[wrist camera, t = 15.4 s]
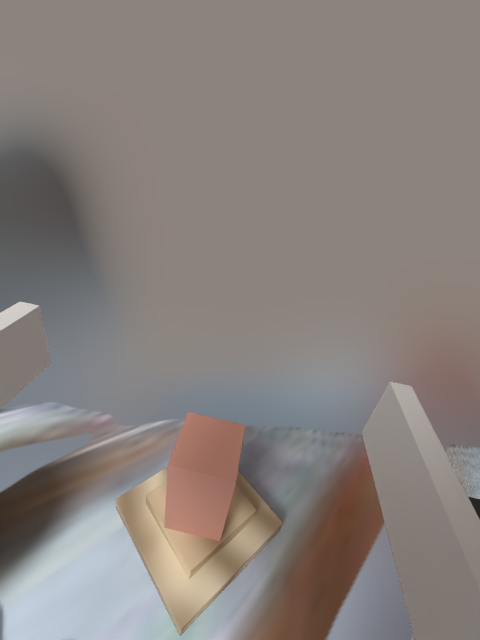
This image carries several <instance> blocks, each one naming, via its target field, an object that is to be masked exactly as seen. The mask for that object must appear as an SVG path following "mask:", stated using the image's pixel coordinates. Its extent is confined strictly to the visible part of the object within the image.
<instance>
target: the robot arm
mask: <svg viewBox="0 0 480 640" xmlns="http://www.w3.org/2000/svg"><path fill="white" fill-rule="evenodd" d="M49 364H51V358H50V354H49V349H48V344H47V339H46V335H45V330H44V325H43V321H42V316H41V311H40V307H39V306H38V305H33V304H29V303H24V302H18V303H17V304H15V305H13V306H12V307H10V308H8V309H7V310H5V311H3V312H1V313H0V409H1V408H2V407H3V406H5V405H6V404H7V403H8V402H9V401H10V400H11V399H12V398H13V397H14V396H16V394H18V393H19V392H20V391H21V390H22V389H23V388H24V387H25V386H27V385H28V384H29V383H30V382H31V381H32V380H33V379H34V378H35V377H36V376H37V375H39V374H40V373H41V372H42V371H43V370H44V369H45V368H46V367H47V366H48V365H49ZM362 436H363V440H364V443H365V447H366V451H367V455H368V459H369V463H370V467H371V471H372V475H373V479H374V483H375V487H376V490H377V494H378V498H379V502H380V506H381V510H382V514H383V518H384V522H385V526H386V529H387V534H388V537H389V541H390V545H391V549H392V553H393V557H394V561H395V565H396V569H397V573H398V576H399V581H400V584H401V588H402V592H403V596H404V600H405V604H406V608H407V612H408V616H409V620H410V624H411V627H412V631H413V635H414V639H415V640H480V499H475V498H471V497H468V496H467V494H466V492H465V490H464V488H463V486H462V484H461V482H460V480H459V478H458V476H457V474H456V472H455V470H454V468H453V467H452V465H451V463H450V461H449V459H448V457H447V455H446V453H445V451H444V449H443V447H442V445H441V443H440V441H439V439H438V437H437V435H436V433H435V431H434V429H433V427H432V426H431V424H430V422H429V420H428V418H427V416H426V414H425V412H424V410H423V408H422V406H421V404H420V402H419V400H418V398H417V396H416V394H415V392H414V390H413V389H412V387H411V386H408V385H403V384H399V383H393V382H389V384H388V386H387V388H386V390H385V391H384V393H383V395H382V397H381V399H380V400H379V402H378V404H377V406H376V407H375V409H374V411H373V413H372V415H371V416H370V418H369V420H368V422H367V423H366V425H365V427H364V429H363V431H362Z"/></svg>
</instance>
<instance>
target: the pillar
mask: <svg viewBox="0 0 480 640" xmlns="http://www.w3.org/2000/svg"><path fill="white" fill-rule="evenodd" d="M244 430H245V425H242V424H238V423H234V422H229V421H225V420H220V419H216V418H212V417H207V416H203V415H199V414H194V413H190V412H188V414H187V417H186V419H185V422H184V425H183V427H182V430H181V432H180V435H179V438H178V440H177V443H176V445H175V448H174V451H173V453H172V456H171V458H170V461H169V464H168V473H167V489H166V505H165V522H164V528H167V529H171V530H175V531H180V532H184V533H188V534H192V535H196V536H200V537H204V538H208V539H212V540H216V541H220V540H221V536H222V532H223V529H224V525H225V521H226V517H227V514H228V510H229V506H230V502H231V499H232V495H233V491H234V488H235V484H236V479H237V473H238V467H239V461H240V455H241V448H242V442H243V436H244Z"/></svg>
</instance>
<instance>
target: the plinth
mask: <svg viewBox="0 0 480 640" xmlns="http://www.w3.org/2000/svg"><path fill="white" fill-rule="evenodd" d="M167 473H168V467H166V468H165V469H163V470H162V471H160V472H158V473H157V474H155V475H154V476H152V477H150V478H149V479H147V480H146V481H144V482H142V483H141V484H139V485H138V486H136V487H134V488H133V489H131V490H130V491H128V492H126V493H125V494H123V495H122V496H120V497H118V498H117V499H115V500H116V509H117V511H118V513H119V515H120V517H121V519H122V521H123V523H124V525H125V527H126V529H127V531H128V533H129V535H130V537H131V539H132V541H133V543H134V545H135V547H136V549H137V551H138V553H139V555H140V557H141V559H142V561H143V563H144V565H145V567H146V569H147V571H148V573H149V575H150V577H151V579H152V581H153V583H154V585H155V587H156V589H157V591H158V593H159V595H160V597H161V599H162V601H163V603H164V605H165V607H166V609H167V611H168V613H169V615H170V617H171V619H172V621H173V623H174V625H175V627H176V629H177V631H178V633H179V635H180V636H181V635H182V633H183V632H184V631H185V630H186V629H187V628H188V627H189V626H190V625H191V624H192V623H193V622H194V621H195V620H196V619H197V618H198V617H199V616H200V614H201V613H202V612H203V611H204V610H205V609H206V608H207V607H208V606H209V605H210V604H211V603H212V602H213V601H214V600H215V599H216V598H217V596H218V595H219V594H220V593H221V592H222V591H223V590H224V589H225V588H226V587H227V586H228V585H229V584H230V583H231V582H232V581H233V580H234V578H235V577H236V576H237V575H238V574H239V573H240V572H241V571H242V570H243V569H244V568H245V567H246V566H247V565H248V564H249V563H250V562H251V561H252V559H253V558H254V557H255V556H256V555H257V554H258V553H259V552H260V551H261V550H262V549H263V548H264V547H265V546H266V545H267V544H268V543H269V541H270V540H271V539H272V538H273V537H274V536H275V535H276V534H277V533H278V532H279V530H280V528H281V526H282V524H283V523H282V521H281V520H280V519H279V518H278V517H277V516H276V514H275V513H274V512H273V511H272V510H271V509H270V507H269V506H268V505H267V504H266V503H265V502H264V500H263V499H262V498H261V497H260V496H259V495H258V493H257V492H256V491H255V490H254V489H253V487H252V486H251V485H250V484H249V483H248V482H247V480H246V479H245V478H244V477H243V476H242V475H241V473H240V472H239V471H238V473H237V479H236V484H235V488H234V491H233V495H232V499H231V502H230V506H229V510H228V514H227V517H226V521H225V525H224V529H223V532H222V536H221V540H220V541H216V540H212V539H208V538H204V537H200V536H196V535H192V534H188V533H184V532H180V531H175V530H171V529H167V528H164V522H165V505H166V489H167Z"/></svg>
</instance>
